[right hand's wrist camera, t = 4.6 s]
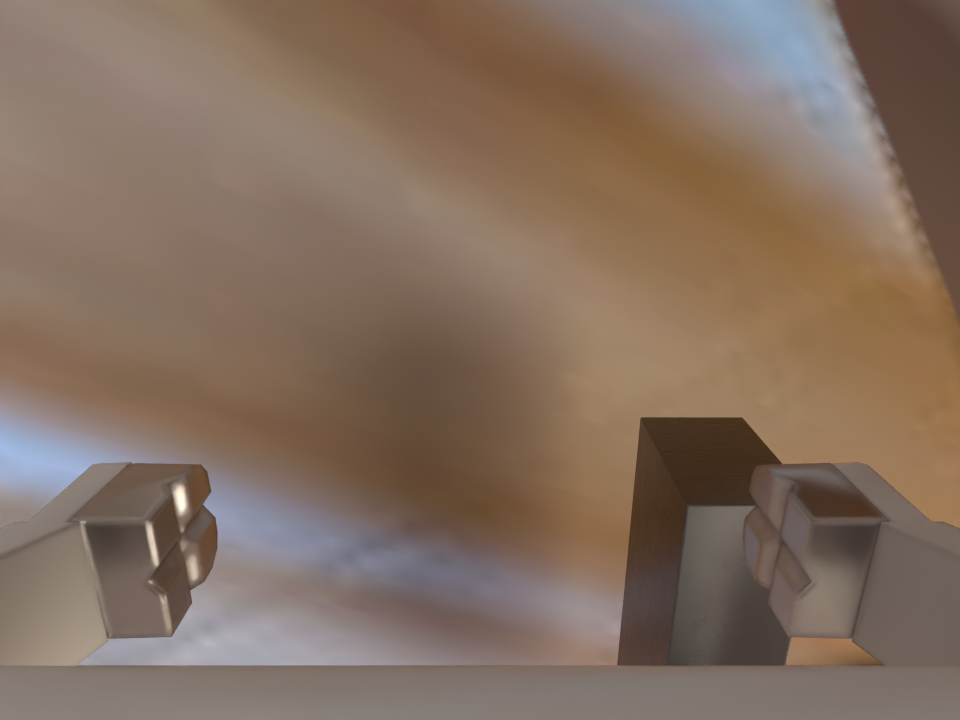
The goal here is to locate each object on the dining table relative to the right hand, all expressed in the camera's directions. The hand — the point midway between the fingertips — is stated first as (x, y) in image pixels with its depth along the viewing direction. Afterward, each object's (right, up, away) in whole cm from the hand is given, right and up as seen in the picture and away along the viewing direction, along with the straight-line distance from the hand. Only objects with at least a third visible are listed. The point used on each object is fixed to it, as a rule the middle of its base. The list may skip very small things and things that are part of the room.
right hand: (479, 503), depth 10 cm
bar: (+10, -14, +27) cm, 32 cm away
